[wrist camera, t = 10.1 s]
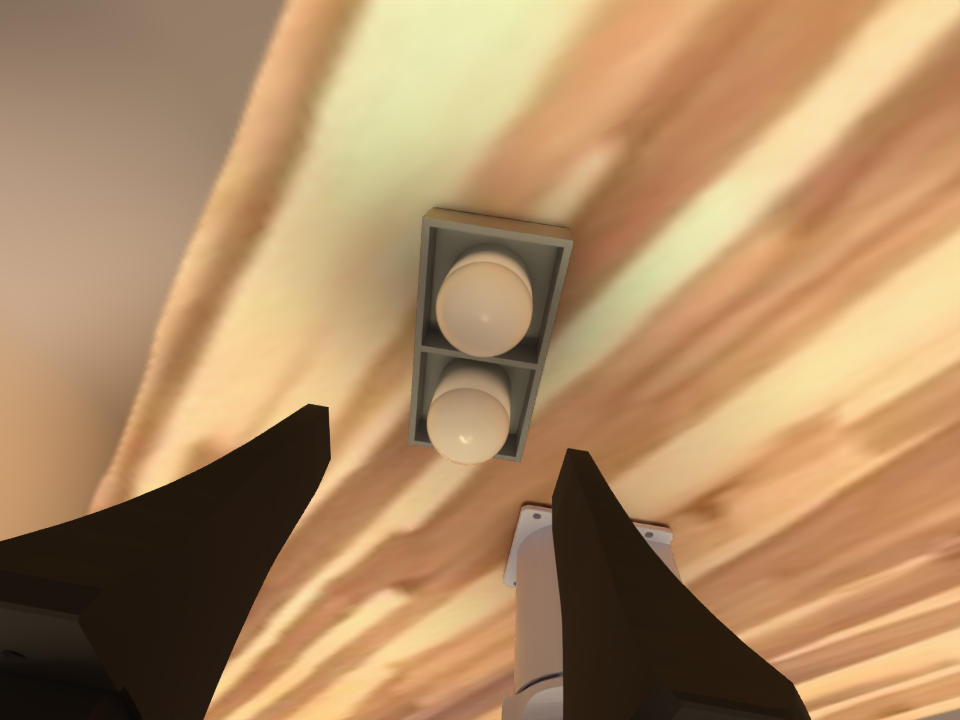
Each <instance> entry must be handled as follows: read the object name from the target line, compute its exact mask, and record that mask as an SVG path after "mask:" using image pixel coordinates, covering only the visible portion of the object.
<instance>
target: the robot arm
mask: <svg viewBox="0 0 960 720" xmlns="http://www.w3.org/2000/svg"><path fill="white" fill-rule="evenodd" d="M330 459H331V452H330V429H329V407H325V406H319V405H313V404H307V405H306V406H304V407H302V408H301V409H299V410H298V411H296V412H295V413H293V414H292V415H290V416H289V417H287V418H286V419H284V420H282V421H281V422H279V423H278V424H276V425H275V426H273V427H272V428H270V429H268V430H267V431H265V432H264V433H262V434H261V435H259V436H257V437H256V438H254V439H253V440H251V441H249V442H248V443H246V444H244V445H242V446H241V447H239V448H237V449H235V450H234V451H232V452H230V453H228V454H227V455H225V456H223V457H221V458H220V459H218V460H216V461H214V462H212V463H211V464H209V465H207V466H205V467H203V468H201V469H199V470H197V471H195V472H193V473H191V474H189V475H187V476H184V477H182V478H180V479H178V480H176V481H174V482H172V483H169V484H167V485H165V486H162V487H160V488H158V489H155V490H153V491H150V492H148V493H145V494H143V495H141V496H138V497H136V498H133V499H131V500H128V501H126V502H123V503H121V504H118V505H115V506H112V507H110V508H107V509H104V510H101V511H99V512H96V513H93V514H90V515H87V516H84V517H81V518H78V519H75V520H72V521H69V522H65V523H62V524H59V525H56V526H53V527H49V528H45V529H42V530H38V531H35V532H31V533H28V534H24V535H21V536H18V537H15V538H11V539H7V540H3V541H0V720H203V719H204V717H205V714H206V712H207V709H208V707H209V704H210V702H211V699H212V697H213V694H214V692H215V689H216V687H217V685H218V682H219V680H220V678H221V675H222V673H223V671H224V668H225V666H226V664H227V661H228V659H229V657H230V654H231V652H232V650H233V647H234V645H235V643H236V640H237V638H238V636H239V634H240V632H241V629H242V627H243V625H244V623H245V621H246V619H247V616H248V614H249V612H250V610H251V608H252V605H253V603H254V601H255V599H256V597H257V595H258V593H259V591H260V589H261V587H262V585H263V582H264V580H265V578H266V576H267V574H268V572H269V570H270V568H271V566H272V565H273V563H274V561H275V559H276V557H277V556H278V554H279V552H280V551H281V549H282V547H283V546H284V544H285V542H286V541H287V539H288V537H289V536H290V534H291V532H292V531H293V529H294V528H295V526H296V524H297V523H298V521H299V519H300V518H301V516H302V514H303V513H304V511H305V509H306V508H307V506H308V504H309V503H310V501H311V499H312V498H313V496H314V494H315V492H316V491H317V489H318V487H319V485H320V482H321V480H322V478H323V476H324V474H325V471H326V469H327V467H328V464H329V462H330ZM535 513H538V514H535ZM672 539H673V534H672V531H671V530H670V529H669V528H666V527H660V526H654V525H648V524H642V523H636V522H632V521H631V519H630V518H629V517H628V515H627V514H626V512H625V511H624V509H623V508H622V506H621V504H620V503H619V501H618V500H617V498H616V497H615V495H614V494H613V492H612V490H611V489H610V487H609V486H608V484H607V482H606V481H605V479H604V477H603V476H602V474H601V472H600V470H599V469H598V467H597V465H596V464H595V462H594V460H593V458H592V457H591V455H590V454H589V452H588V451H582V450H576V449H570V448H568V449H567V452H566V455H565V458H564V461H563V464H562V468H561V471H560V474H559V477H558V480H557V483H556V487H555V490H554V493H553V496H552V509H551V508H545V507H539V506H533V505H525V506H523V507H522V508H521V511H520V515H519V519H518V523H517V527H516V530H515V534H514V538H513V542H512V546H511V550H510V553H509V557H508V561H507V565H506V569H505V573H504V576H503V583H504V584H505V585H506V586H509V587H514V588H516V619H515V672H514V695H512V696H506V697H503V698H502V720H811V718H810V716H809V714H808V711H807V709H806V707H805V705H804V703H803V701H802V700H801V698H800V696H799V694H798V692H797V690H796V688H795V686H794V685H793V683H792V682H791V681H790V680H788V679H787V678H786V677H785V676H784V675H782V674H781V673H780V672H779V671H777V670H776V669H775V668H774V667H773V666H771V665H770V664H769V663H768V662H766V661H765V660H764V659H763V658H762V657H760V656H759V655H758V654H757V653H756V652H754V651H753V650H752V649H751V648H749V647H748V646H747V645H746V644H745V643H744V642H743V641H741V640H740V639H739V638H738V637H737V636H736V635H735V634H734V633H733V632H731V631H730V630H729V629H728V628H727V627H726V626H725V625H724V624H723V623H722V622H720V621H719V620H718V619H717V618H716V617H715V616H714V615H713V614H712V613H711V612H710V611H709V610H708V609H707V608H706V607H705V606H704V605H703V604H702V603H701V602H700V601H699V600H698V599H697V598H696V597H695V596H694V595H693V594H692V593H691V592H690V591H689V590H688V589H687V588H686V587H685V586H684V585H683V584H682V581H681V578H680V575H679V572H678V569H677V566H676V563H675V560H674V557H673V554H672V551H671V548H670V545H669V544H670V543H671V541H672Z"/></svg>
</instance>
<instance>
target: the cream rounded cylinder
mask: <svg viewBox="0 0 960 720" xmlns="http://www.w3.org/2000/svg"><path fill="white" fill-rule="evenodd" d="M532 313H533V301H532V280H531V274H530V271H529V268H528V266H527V264H526V263H525V261H524V260H523V259H522V257H521V256H520V255H519V254H518V253H517V252H515V251H514V250H512V249H511V248H509V247H507V246H504V245H501V244H497V243H482V244H478V245H475V246H472V247H470V248H468V249H467V250H465V251H464V252H463V253H461V254H460V255H459V256H458V258H457V259H456V260H455V262H454V263H453V265H452V267H451V269H450V271H449V272H448V274H447V276H446V278H445V280H444V282H443V284H442V285H441V288H440V290H439V293H438V296H437V300H436V318H437V322H438V325H439V327H440V330H441V332H442V334H443V335H444V337H445V338H446V339H447V341H448V342H449V343H450V344H451V345H452V346H454V347H455V348H456V349H458V350H459V351H461V352H463V353H465V354H468V355H470V356H475V357H493V356H498V355H501V354H503V353H505V352H507V351H509V350H511V349H512V348H514V347H515V346H516V345H517V344H518V343H519V342H520V341H521V340H522V339H523V337H524V336H525V334H526V332H527V331H528V328H529V326H530V323H531V320H532Z"/></svg>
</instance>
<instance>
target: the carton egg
mask: <svg viewBox="0 0 960 720" xmlns="http://www.w3.org/2000/svg"><path fill="white" fill-rule="evenodd" d="M510 409H511V381H510V378H509V376H508V374H507V372H506V371H505V370H504V369H503V367H502V366H500V365H499V364H496V363H490V362H484V361H478V360H472V359H466V358H457V359H455V360H453V361H452V362H450V363H449V364H448V365H447V366H446V367H445V368H444V370H443V371H442V373H441V375H440V378H439V381H438V384H437V387H436V390H435V393H434V396H433V399H432V402H431V405H430V408H429V411H428V416H427V431H428V435H429V438H430V441H431V443H432V445H433V446H434V448H435V449H436V450H437V451H438V452H439V454H441V455H442V456H443V457H444V458H446V459H448V460H449V461H451V462H454V463H457V464H461V465H475V464H480V463H483V462H485V461H487V460H489V459H490V458H492V457H493V456H495V455H496V454H497V453H498V452H499V451H500V449H501V448H502V447H503V445H504V443H505V441H506V439H507V436H508V433H509V427H510Z"/></svg>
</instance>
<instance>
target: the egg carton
mask: <svg viewBox="0 0 960 720" xmlns="http://www.w3.org/2000/svg"><path fill="white" fill-rule="evenodd" d="M482 243H497V244H501V245H504V246H507V247H509V248H511V249H512V250H514V251H515V252H517V253H518V254H519V255H520V256H521V257H522V259H523V260H524V261H525V263H526V264H527V266H528V268H529V271H530V274H531V280H532V301H533V313H532V320H531V323H530V326H529V328H528V331H527V332H526V334H525V336H524V337H523V339H522V340H521V341H520V342H519V343H518V344H517V345H516V346H515V347H514V348H512V349H511V350H509V351H507V352H505V353H503V354H501V355H498V356H493V357H475V356H470V355H468V354H465V353H463V352H461V351H459V350H458V349H456V348H455V347H454V346H452V345H451V344H450V343H449V342H448V341H447V339H446V338H445V337H444V335H443V334H442V332H441V330H440V327H439V325H438V322H437V318H436V300H437V296H438V293H439V290H440V288H441V285H442V284H443V282H444V280H445V278H446V276H447V274H448V272H449V271H450V269H451V267H452V265H453V263H454V262H455V260H456V259H457V258H458V256H459V255H460V254H461V253H463V252H464V251H465V250H467V249H468V248H470V247H472V246H475V245H478V244H482ZM573 243H574V240H573V238H572V235H571V233H570V230H569V228H562V227H556V226H549V225H543V224H537V223H530V222H524V221H517V220H511V219H505V218H498V217H492V216H486V215H479V214H473V213H466V212H460V211H454V210H447V209H441V208H434V207H433V208H432V209H431V210H430V211H429V212H428V213H427V214H426V215H425V216H423V220H422V235H421V251H420V267H419V283H418V299H417V314H416V330H415V346H414V362H413V378H412V394H411V409H410V425H409V441H408V444H411V445H417V446H423V447H429V448H434V446H433V445H432V443H431V441H430V438H429V435H428V431H427V416H428V411H429V408H430V405H431V402H432V399H433V396H434V393H435V390H436V387H437V384H438V381H439V378H440V375H441V373H442V371H443V370H444V368H445V367H446V366H447V365H448V364H449V363H450V362H452V361H453V360H455V359H457V358H466V359H472V360H478V361H484V362H490V363H496V364H499V365H500V366H502V367H503V369H504V370H505V371H506V372H507V374H508V376H509V378H510V381H511V409H510V427H509V433H508V436H507V439H506V441H505V443H504V445H503V447H502V448H501V449H500V451H499V452H498V453H497V454H496V455H495V456H493V457H492V458H496V459H502V460H508V461H514V462H520V463H521V458H522V454H523V450H524V446H525V442H526V438H527V434H528V429H529V425H530V421H531V417H532V413H533V409H534V404H535V400H536V396H537V392H538V388H539V384H540V380H541V375H542V371H543V367H544V363H545V359H546V355H547V350H548V346H549V342H550V338H551V334H552V330H553V326H554V321H555V317H556V313H557V309H558V305H559V301H560V296H561V292H562V288H563V284H564V280H565V276H566V272H567V267H568V263H569V259H570V255H571V251H572V247H573Z"/></svg>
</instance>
